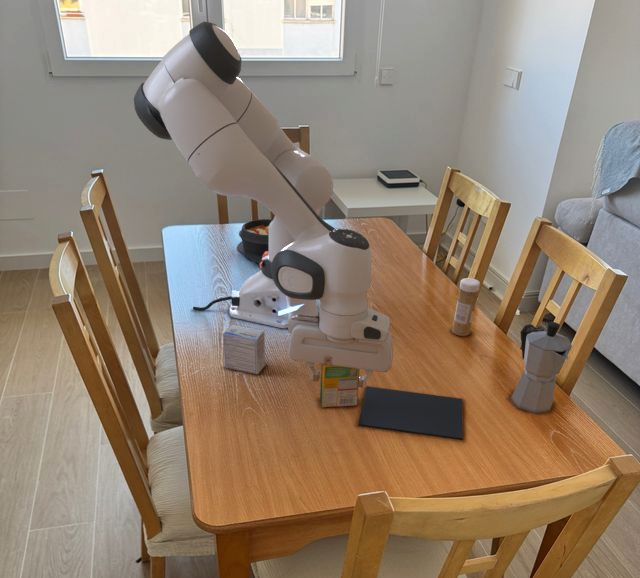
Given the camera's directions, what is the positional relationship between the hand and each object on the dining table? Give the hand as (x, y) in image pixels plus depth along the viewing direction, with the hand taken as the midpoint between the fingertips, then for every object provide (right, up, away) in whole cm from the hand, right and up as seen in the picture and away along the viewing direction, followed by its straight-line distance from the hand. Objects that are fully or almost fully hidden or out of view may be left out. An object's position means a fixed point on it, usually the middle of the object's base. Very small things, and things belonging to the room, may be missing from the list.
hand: (338, 382), depth 125 cm
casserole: (-20, +44, +67) cm, 82 cm away
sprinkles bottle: (+31, +14, +31) cm, 46 cm away
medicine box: (-20, +4, +13) cm, 24 cm away
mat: (+15, -6, +1) cm, 16 cm away
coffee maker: (+40, -3, +8) cm, 41 cm away
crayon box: (0, -4, +3) cm, 5 cm away
